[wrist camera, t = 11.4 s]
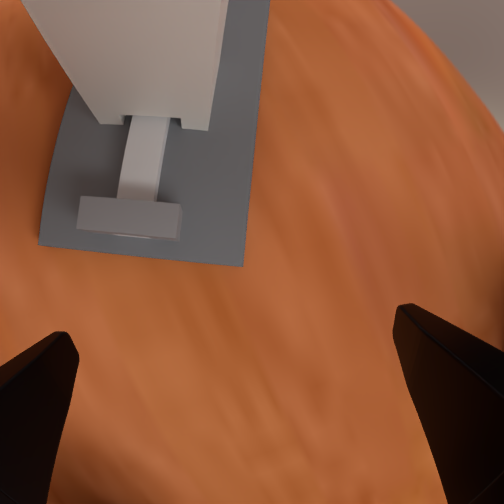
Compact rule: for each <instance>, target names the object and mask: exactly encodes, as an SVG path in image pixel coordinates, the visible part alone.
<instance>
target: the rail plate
mask: <svg viewBox="0 0 504 504" xmlns="http://www.w3.org/2000/svg"><path fill="white" fill-rule="evenodd" d="M269 6H270V0H229V1H228V7H227V14H226V20H225V27H224V34H223V41H222V48H221V55H220V63H219V68H218V74H217V79H216V85H215V91H214V97H213V103H212V109H211V115H210V121H209V127H208V131H204V130H194V129H183V128H182V125H181V118H172V117H157V116H138V115H126V116H125V120H124V124H123V125H114V124H100V123H99V122H98V120H97V119H96V117H95V116H94V115H93V113H92V112H91V110H90V109H89V107H88V106H87V104H86V103H85V101H84V100H83V98H82V97H81V95H80V94H79V92H78V91H77V89H76V88H75V86H74V85H73V87H72V90H71V93H70V96H69V99H68V102H67V105H66V108H65V112H64V115H63V118H62V122H61V125H60V129H59V133H58V137H57V140H56V144H55V149H54V153H53V157H52V161H51V166H50V171H49V176H48V181H47V186H46V192H45V197H44V203H43V210H42V217H41V224H40V232H39V241H38V245H41V246H50V247H58V248H67V249H76V250H84V251H93V252H102V253H111V254H121V255H130V256H139V257H149V258H158V259H168V260H178V261H188V262H198V263H208V264H218V265H229V266H239V267H243V261H244V251H245V240H246V230H247V220H248V209H249V199H250V189H251V179H252V169H253V159H254V149H255V139H256V129H257V119H258V109H259V100H260V90H261V80H262V71H263V61H264V52H265V43H266V33H267V24H268V15H269Z"/></svg>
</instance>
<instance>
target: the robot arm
mask: <svg viewBox="0 0 504 504" xmlns="http://www.w3.org/2000/svg"><path fill="white" fill-rule="evenodd" d="M393 339H394V343H395V346H396V349H397V353H398V356H399V360H400V363H401V367H402V370H403V374H404V378H405V381H406V384H407V387H408V390H409V393H410V395H411V398H412V400H413V403H414V406H415V408H416V411H417V413H418V416H419V419H420V421H421V424H422V427H423V429H424V432H425V435H426V438H427V440H428V443H429V446H430V449H431V452H432V455H433V458H434V461H435V464H436V467H437V470H438V473H439V476H440V479H441V482H442V486H443V489H444V492H445V496H446V499H447V502H448V504H504V352H503V351H501V350H499V349H497V348H495V347H493V346H492V345H490V344H488V343H486V342H484V341H483V340H481V339H479V338H477V337H475V336H473V335H472V334H470V333H468V332H466V331H464V330H462V329H460V328H459V327H457V326H455V325H453V324H451V323H449V322H447V321H445V320H444V319H442V318H440V317H438V316H436V315H434V314H432V313H430V312H428V311H427V310H425V309H423V308H421V307H419V306H417V305H415V304H413V303H409V304H403V305H399V306H398V307H397V309H396V314H395V320H394V326H393ZM78 365H79V353H78V351H77V349H76V347H75V345H74V343H73V341H72V339H71V337H70V335H69V334H68V333H67V332H65V331H56V332H53V333H52V334H50V335H48V336H47V337H45V338H44V339H42V340H41V341H39V342H37V343H36V344H34V345H33V346H31V347H30V348H28V349H27V350H25V351H23V352H22V353H20V354H19V355H17V356H16V357H14V358H13V359H11V360H10V361H8V362H7V363H5V364H4V365H2V366H1V367H0V504H46V503H47V497H48V492H49V487H50V482H51V477H52V473H53V468H54V464H55V459H56V455H57V451H58V447H59V443H60V439H61V435H62V431H63V428H64V424H65V420H66V417H67V413H68V410H69V406H70V402H71V398H72V392H73V388H74V383H75V378H76V373H77V369H78Z"/></svg>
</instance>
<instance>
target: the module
mask: <svg viewBox="0 0 504 504" xmlns="http://www.w3.org/2000/svg"><path fill="white" fill-rule="evenodd" d="M228 1H229V0H21V2H22V3H23V5H24V7H25V8H26V10H27V12H28V13H29V15H30V17H31V18H32V20H33V22H34V23H35V25H36V27H37V28H38V30H39V32H40V33H41V35H42V36H43V38H44V40H45V41H46V43H47V44H48V46H49V48H50V49H51V51H52V52H53V54H54V56H55V57H56V59H57V60H58V62H59V63H60V65H61V66H62V68H63V70H64V71H65V73H66V74H67V76H68V77H69V79H70V80H71V82H72V83H73V85H74V86H75V88H76V89H77V91H78V92H79V94H80V95H81V97H82V98H83V100H84V101H85V103H86V104H87V106H88V107H89V109H90V110H91V112H92V113H93V115H94V116H95V117H96V119H97V120H98V122H99V123H100V124H114V125H123V124H124V120H125V116H126V115H138V116H157V117H172V118H181V125H182V128H183V129H194V130H204V131H208V127H209V121H210V115H211V109H212V103H213V97H214V91H215V85H216V79H217V74H218V68H219V63H220V55H221V48H222V41H223V34H224V27H225V20H226V14H227V7H228Z"/></svg>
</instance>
